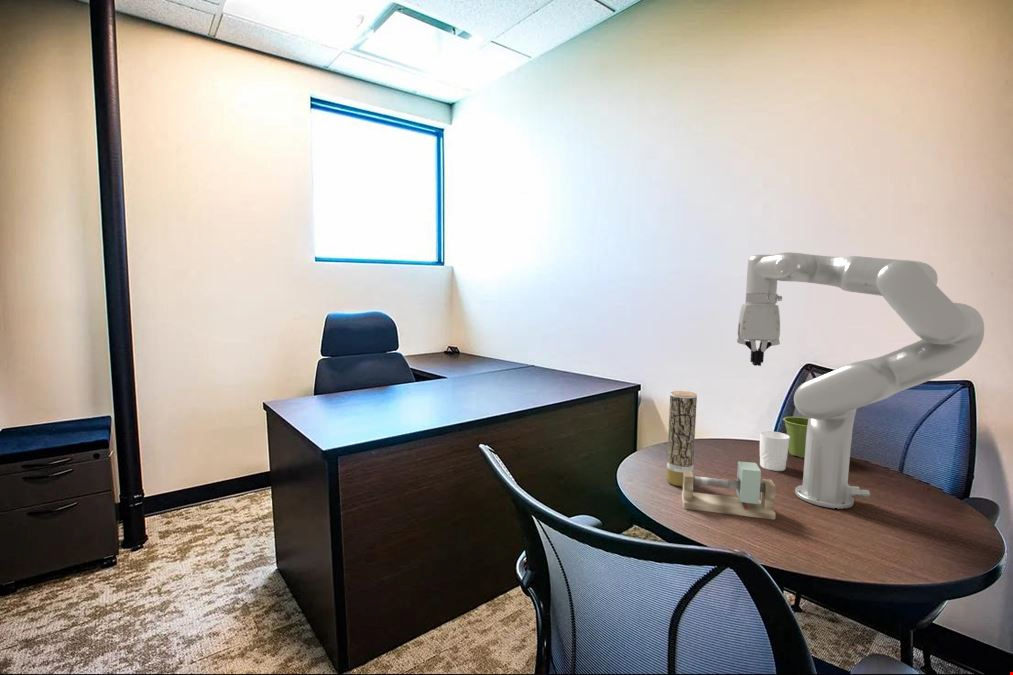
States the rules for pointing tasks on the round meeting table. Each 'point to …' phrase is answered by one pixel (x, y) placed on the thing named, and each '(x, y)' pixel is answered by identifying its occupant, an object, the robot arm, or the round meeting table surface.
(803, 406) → the robot arm
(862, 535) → the round meeting table surface
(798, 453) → the plant pot
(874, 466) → the round meeting table surface
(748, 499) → the collar
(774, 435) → the white cup
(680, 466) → the paper tube
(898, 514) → the round meeting table surface
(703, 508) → the rod stand
